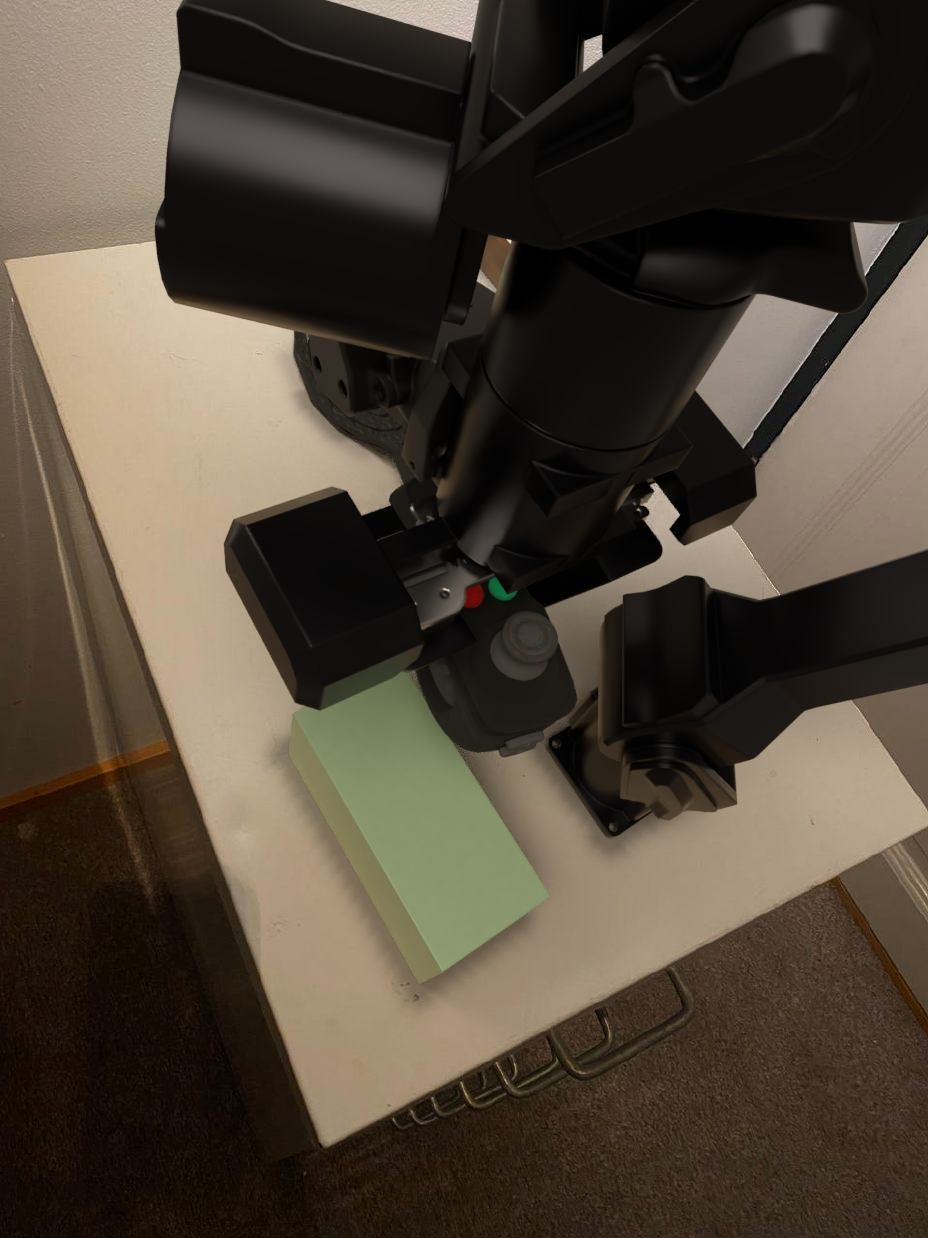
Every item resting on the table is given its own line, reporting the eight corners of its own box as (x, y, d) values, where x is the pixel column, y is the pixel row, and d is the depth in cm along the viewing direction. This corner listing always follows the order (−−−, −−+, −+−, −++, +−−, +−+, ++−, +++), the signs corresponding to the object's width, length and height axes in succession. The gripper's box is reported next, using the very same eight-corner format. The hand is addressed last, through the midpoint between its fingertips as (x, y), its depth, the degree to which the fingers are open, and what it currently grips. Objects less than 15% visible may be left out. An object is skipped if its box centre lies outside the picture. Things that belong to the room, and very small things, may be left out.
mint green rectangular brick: (516, 917, 43) (551, 896, 38) (419, 984, 40) (442, 972, 35) (384, 704, 47) (400, 659, 42) (288, 753, 44) (292, 712, 39)
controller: (445, 803, 36) (504, 720, 28) (362, 566, 41) (390, 432, 32) (532, 776, 38) (615, 689, 29) (443, 550, 42) (491, 418, 34)
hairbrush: (408, 592, 47) (273, 268, 55) (397, 619, 50) (271, 310, 58) (533, 558, 50) (389, 257, 58) (515, 586, 53) (381, 297, 61)
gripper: (666, 135, 29) (537, 433, 42) (123, 231, 21) (177, 556, 35) (879, 365, 25) (663, 609, 39) (319, 578, 18) (294, 789, 31)
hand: (462, 630), depth 36 cm, fingers closed on controller, 4 cm apart
